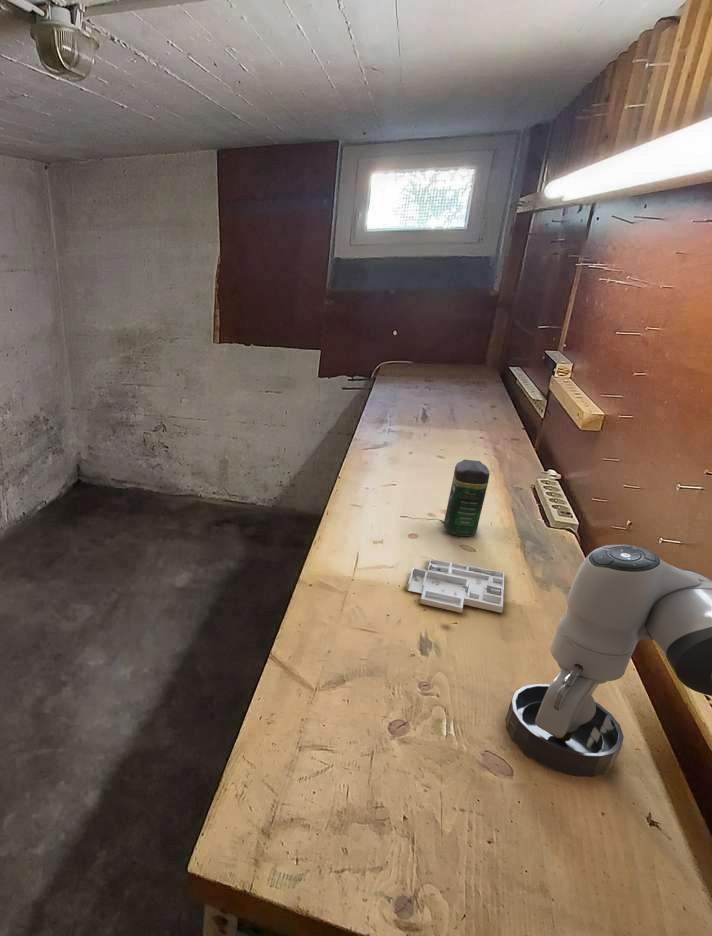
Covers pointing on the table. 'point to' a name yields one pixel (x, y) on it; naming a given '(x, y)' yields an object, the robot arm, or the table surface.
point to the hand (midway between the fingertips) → (562, 721)
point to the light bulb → (581, 718)
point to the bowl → (578, 756)
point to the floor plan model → (458, 586)
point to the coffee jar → (466, 497)
